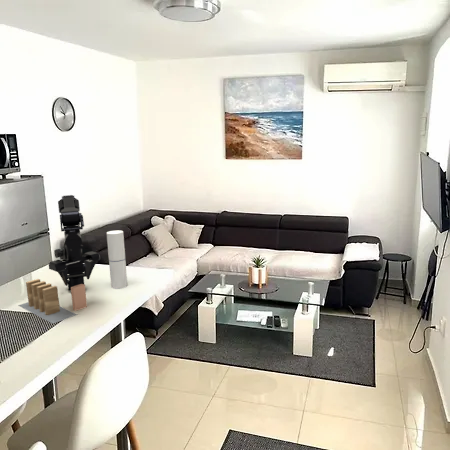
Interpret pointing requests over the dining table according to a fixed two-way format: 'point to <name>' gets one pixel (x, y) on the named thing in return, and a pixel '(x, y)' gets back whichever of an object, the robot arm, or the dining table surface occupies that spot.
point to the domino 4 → (51, 300)
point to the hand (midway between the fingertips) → (77, 282)
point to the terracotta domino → (78, 297)
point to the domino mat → (52, 317)
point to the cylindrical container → (117, 259)
